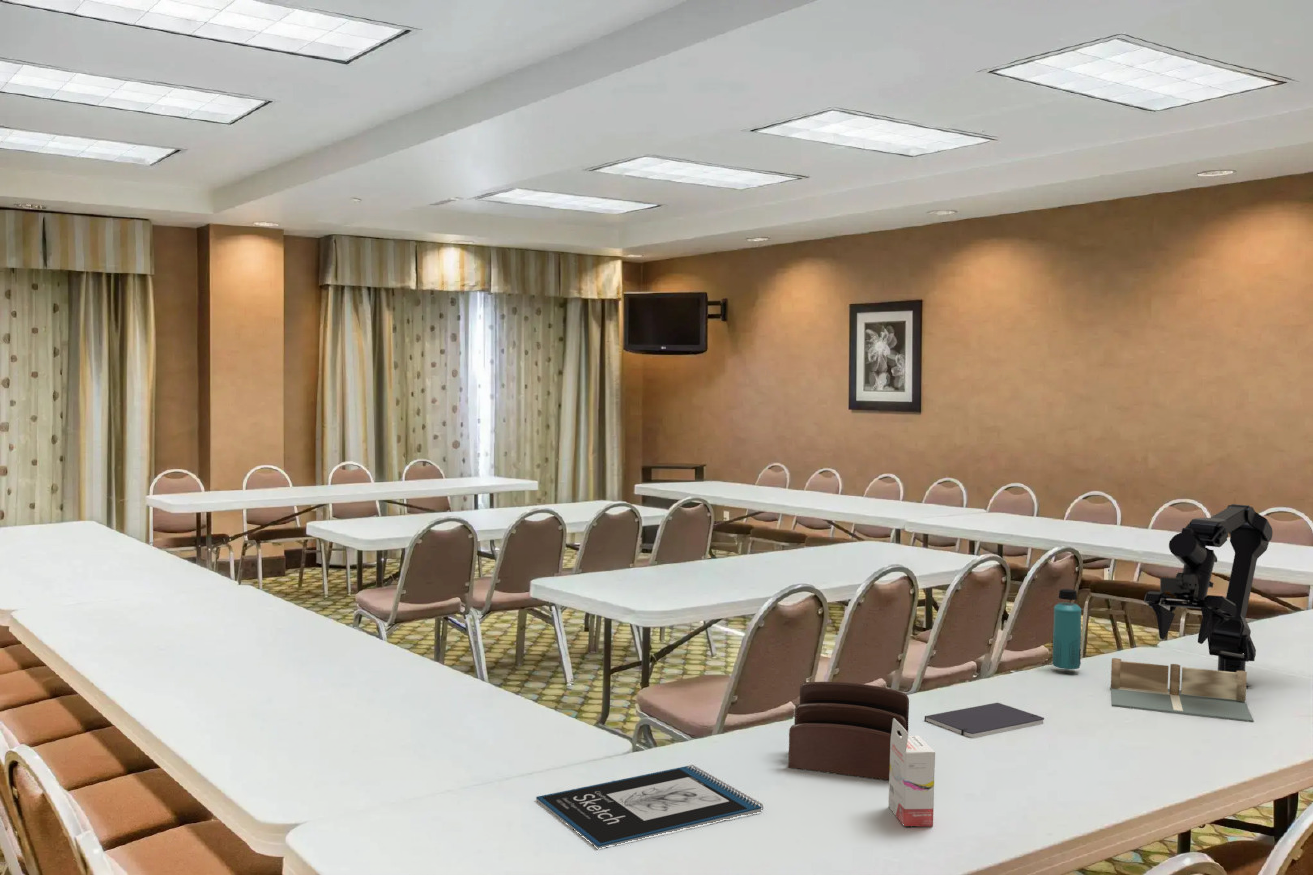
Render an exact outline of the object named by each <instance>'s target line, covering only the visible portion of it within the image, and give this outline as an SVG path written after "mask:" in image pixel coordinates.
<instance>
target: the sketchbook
mask: <svg viewBox="0 0 1313 875" xmlns="http://www.w3.org/2000/svg"><path fill="white" fill-rule="evenodd" d="M535 800H536V802H537V803H538V804H540V806H542V807H544V808H545V809H546V810H547V811H548V812H550V811H551V812H552V813H553V815H554V816H555V815H556V816H557V817H558V820H560V819H561V820H563V821H564V822H565V823H567V824H568V825H569V826H570V827H571V828H573V829H575V831H577V832H579V833H580V834H581V835H582V836H584V837H585V838H586V839H587V840H589V841H590V842H591V843H592V844H593V845H595V846H596V847H597V848H598V849H599V848H602V847H606V846H609V845H617V844H621V843H625V842H628V841H632V840H638V839H642V838H645V837H649V836H654V835H658V834H662V833H666V832H672V831H677V830H680V829H683V828H690V827H695V826H698V825H703V824H707V823H713V822H716V821H720V820H723V819H730V818H733V817H737V816H741V815H748V814H753V813H757V812H761V813H762V811H761V810H763V811H764V804H763V803H762V802H760V801H759V800H757V799H754V798H753V797H751V796H750V795H747V794H746V793H745V792H742V791H741V790H739V789H737V788H736V787H733V786H732V785H730V784H728V783H726V782H725V781H723V780H721V779H719V778H718V777H715V776H714V775H712V774H710V773H708V772H707V771H705V770H703V769H701V768H700V767H698V766H696V765H694V764H689V765H686V766H680V767H676V768H670V769H667V770H662V771H661V770H660V771H655V772H651V773H646V774H641V775H637V776H631V777H627V778H626V777H625V778H622V779H617V780H611V781H607V782H601V783H597V784H593V785H588V786H582V787H578V788H573V789H567V790H563V791H557V792H553V793H549V794H544V795H538V796H535ZM761 808H762V809H761ZM551 812H550V813H551ZM552 813H551V814H552ZM556 816H555V817H556ZM557 817H556V818H557ZM561 820H560V821H561ZM564 822H563V823H564ZM565 823H564V824H565ZM569 826H568V827H569ZM570 827H569V828H570ZM571 828H570V829H571ZM575 831H574V832H575ZM593 845H592V846H593ZM598 849H597V850H598Z"/></svg>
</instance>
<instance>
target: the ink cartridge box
mask: <svg viewBox="0 0 1313 875" xmlns="http://www.w3.org/2000/svg"><path fill="white" fill-rule="evenodd" d="M897 730H898V731H900V733H901V734H902V736H899V735H898V734H897ZM935 768H936V751H935V750H934V749H933V748H932V747H931V746H930V745H929V744H927V742H926V741H925V740H923V738H922V737H921V736H920V735H909V731H908V732H907V731H906V730H905V729H904V728H903V726H902V725H901V724H900V723H899V722H897V721H896V720H895V718H893V723H892V732H891V741H890V774H889V781H888V808H889V807H890V808H889V810H890V811H891V810H892V811H893V812H892V811H891V812H892V813H893V814H894V816H895V815H896V816H897V817H896V816H895V817H896V818H897V819H898V820H900V821H901V822H900V821H899V822H900V823H901V824H902V823H903V824H904V826H905V827H906V826H911V827H912V826H917V827H933V826H934V809H935V808H934V806H935V771H936V770H935ZM903 824H902V825H903ZM904 826H903V827H904Z"/></svg>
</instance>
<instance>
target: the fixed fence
mask: <svg viewBox="0 0 1313 875" xmlns="http://www.w3.org/2000/svg"><path fill="white" fill-rule="evenodd" d="M1110 669H1111V672H1110V673H1111V674H1110V689H1111V688H1112V689H1120V687H1121V688H1131V689H1140V690H1149V691H1158V692H1168V689H1170V690H1169V694H1171V695H1179V690H1181V688H1180V686H1181V684H1180V682H1181V665H1180V664H1178V663H1170V668H1169V665H1163V664H1154V663H1144V662H1136V661H1135V662H1133V661H1126V660H1125V661H1124V660H1122V659H1121V658H1116V657H1114V658H1111V668H1110ZM1169 670H1170V672H1169ZM1168 687H1169V688H1168Z"/></svg>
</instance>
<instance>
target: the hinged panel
mask: <svg viewBox="0 0 1313 875" xmlns="http://www.w3.org/2000/svg"><path fill="white" fill-rule="evenodd" d="M1247 676H1248V671H1246V670H1245V671H1237V672H1226V671H1218V670H1215V669H1214V670H1213V669H1206V668H1205V669H1203V668H1196V667H1185V666H1182V668H1181V684H1180V686H1181V688H1180V690H1181V694H1186V695H1195V696H1205V697H1214V698H1223V699H1232V700H1238V701H1245V702H1246V700H1247V698H1246V697H1247V687H1246V682H1247V681H1248V680H1247V679H1248V678H1247ZM1247 683H1248V682H1247Z"/></svg>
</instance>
